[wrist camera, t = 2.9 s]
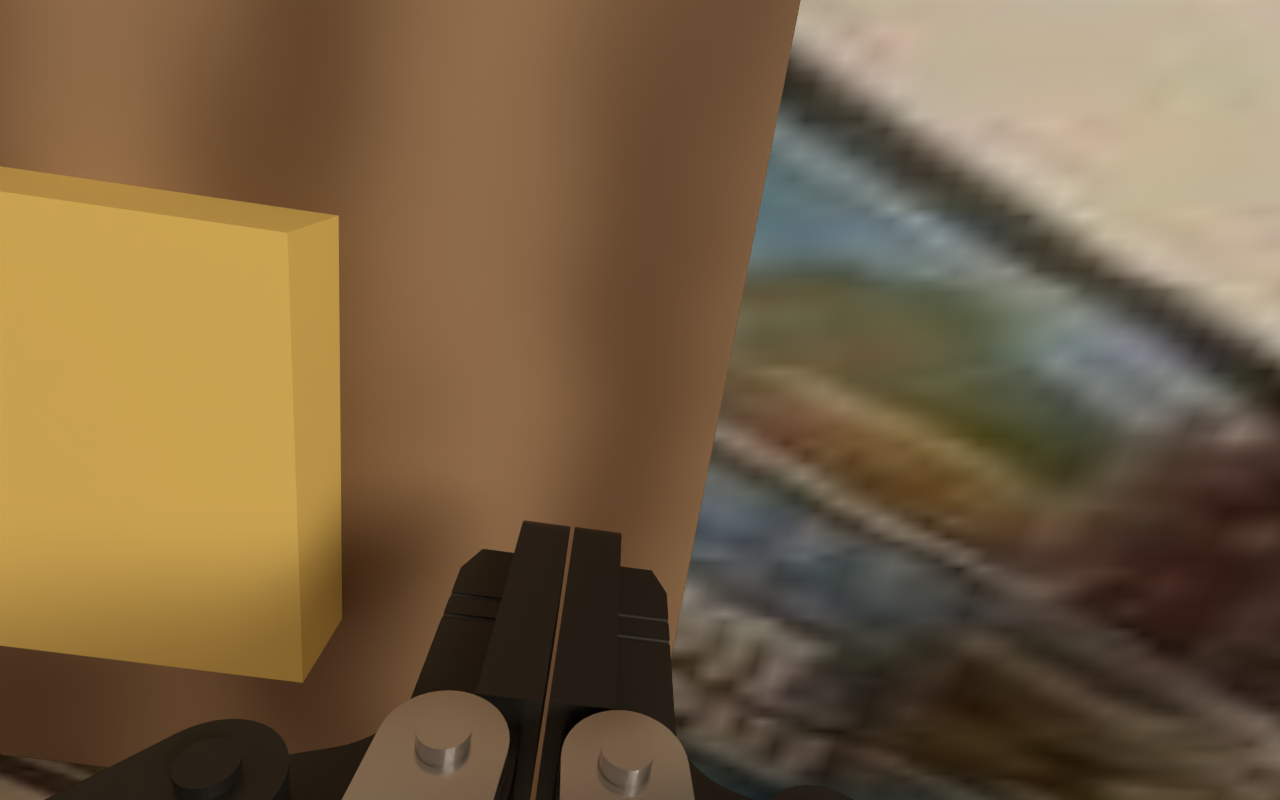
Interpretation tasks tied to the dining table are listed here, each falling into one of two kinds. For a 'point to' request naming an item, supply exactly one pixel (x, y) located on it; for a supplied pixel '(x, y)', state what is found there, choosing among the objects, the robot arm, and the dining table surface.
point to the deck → (433, 287)
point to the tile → (168, 427)
